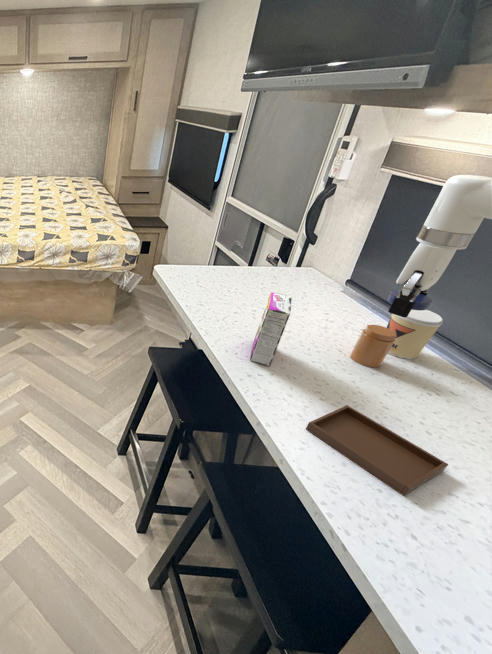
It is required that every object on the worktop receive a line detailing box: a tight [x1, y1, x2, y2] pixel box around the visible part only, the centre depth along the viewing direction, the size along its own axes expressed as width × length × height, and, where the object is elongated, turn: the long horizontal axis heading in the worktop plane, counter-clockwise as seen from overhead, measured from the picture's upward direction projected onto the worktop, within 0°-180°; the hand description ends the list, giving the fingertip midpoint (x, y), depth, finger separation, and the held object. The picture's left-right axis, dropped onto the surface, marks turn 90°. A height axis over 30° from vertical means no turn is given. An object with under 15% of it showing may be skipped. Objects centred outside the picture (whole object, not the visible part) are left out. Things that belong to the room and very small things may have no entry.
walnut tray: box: [305, 404, 449, 497], centre depth 80 cm, size 17×13×2 cm
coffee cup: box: [385, 309, 443, 360], centre depth 107 cm, size 9×9×12 cm
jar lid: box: [387, 289, 433, 310], centre depth 90 cm, size 7×7×2 cm
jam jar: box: [349, 324, 396, 368], centre depth 104 cm, size 6×6×10 cm
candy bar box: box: [249, 291, 293, 367], centre depth 105 cm, size 11×5×16 cm, turn 145°
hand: (403, 309), depth 91 cm, fingers closed on jar lid, 6 cm apart
